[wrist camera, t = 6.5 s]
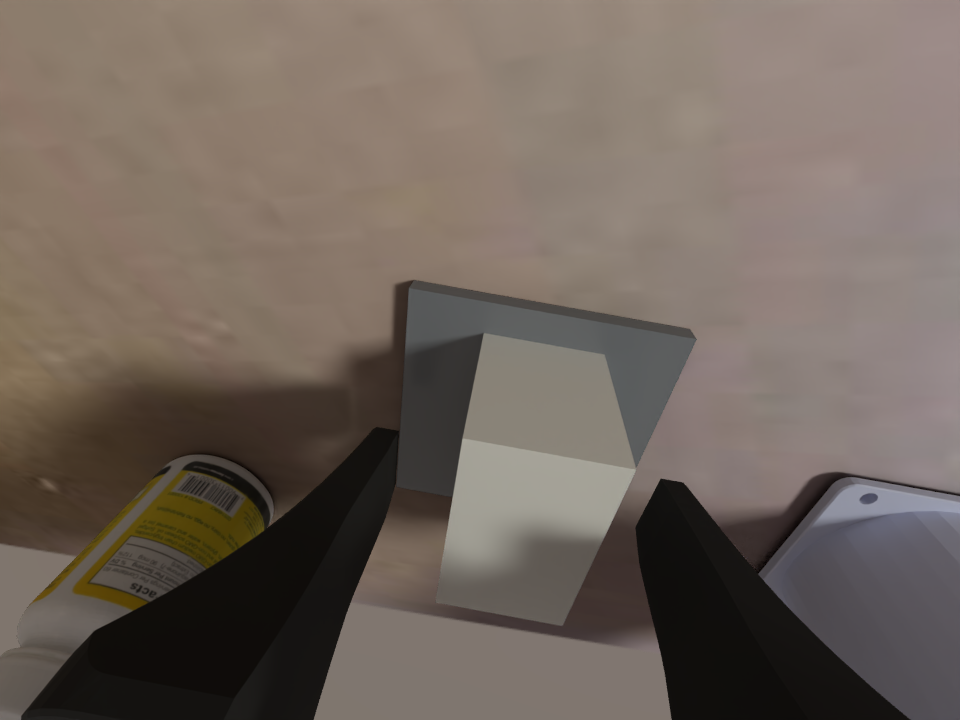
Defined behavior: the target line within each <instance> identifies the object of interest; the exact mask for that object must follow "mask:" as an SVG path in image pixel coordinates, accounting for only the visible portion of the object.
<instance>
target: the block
mask: <svg viewBox="0 0 960 720" xmlns="http://www.w3.org/2000/svg"><path fill="white" fill-rule="evenodd" d="M635 472H636V467H635V463H634V459H633V456H632V452H631V449H630V445H629V441H628V438H627V434H626V430H625V427H624V423H623V419H622V416H621V412H620V409H619V405H618V401H617V398H616V394H615V390H614V387H613V383H612V380H611V376H610V372H609V369H608V365H607V361H606V358H605V355H604V354H598V353H593V352H587V351H582V350H576V349H570V348H565V347H559V346H554V345H548V344H543V343H537V342H531V341H526V340H520V339H515V338H509V337H503V336H498V335H492V334H487V333H484V335H483V340H482V345H481V350H480V355H479V360H478V365H477V370H476V375H475V380H474V384H473V389H472V394H471V399H470V404H469V409H468V414H467V419H466V424H465V429H464V434H463V439H462V445H461V451H460V457H459V463H458V469H457V475H456V481H455V487H454V493H453V499H452V505H451V511H450V517H449V523H448V529H447V535H446V541H445V547H444V553H443V559H442V565H441V571H440V577H439V583H438V589H437V595H436V601H435V603H440V604H446V605H451V606H456V607H462V608H467V609H473V610H478V611H483V612H489V613H494V614H500V615H505V616H510V617H516V618H521V619H526V620H532V621H537V622H543V623H548V624H553V625H559V626H563V624H564V622H565V620H566V618H567V615H568V613H569V611H570V609H571V607H572V605H573V603H574V601H575V599H576V596H577V594H578V592H579V590H580V588H581V586H582V584H583V582H584V580H585V577H586V575H587V573H588V571H589V569H590V567H591V565H592V563H593V560H594V558H595V556H596V554H597V552H598V550H599V548H600V546H601V544H602V541H603V539H604V537H605V535H606V533H607V531H608V529H609V527H610V525H611V522H612V520H613V518H614V516H615V514H616V512H617V510H618V508H619V506H620V503H621V501H622V499H623V497H624V495H625V493H626V491H627V489H628V486H629V484H630V482H631V480H632V478H633V476H634V474H635Z"/></svg>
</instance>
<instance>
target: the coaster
mask: <svg viewBox="0 0 960 720" xmlns="http://www.w3.org/2000/svg"><path fill="white" fill-rule="evenodd" d="M484 333H487V334H492V335H498V336H503V337H509V338H515V339H520V340H526V341H531V342H537V343H543V344H548V345H554V346H559V347H565V348H570V349H576V350H582V351H587V352H593V353H598V354H604V355H605V358H606V361H607V365H608V369H609V372H610V376H611V380H612V383H613V387H614V390H615V394H616V398H617V401H618V405H619V409H620V412H621V416H622V419H623V423H624V427H625V430H626V434H627V438H628V441H629V445H630V449H631V452H632V456H633V459H634V463H635V467H637V465H638V463H639V461H640V459H641V457H642V454H643V452H644V450H645V448H646V446H647V444H648V442H649V439H650V437H651V435H652V433H653V431H654V429H655V427H656V425H657V422H658V420H659V418H660V416H661V414H662V412H663V410H664V408H665V405H666V403H667V401H668V399H669V397H670V395H671V393H672V391H673V388H674V386H675V384H676V382H677V380H678V378H679V376H680V374H681V371H682V369H683V367H684V365H685V363H686V361H687V359H688V357H689V354H690V352H691V350H692V348H693V346H694V344H695V342H696V340H697V339H696V338H695V336H694V335H693V333H692V332H691V330H690V329H686V328H680V327H675V326H669V325H664V324H658V323H652V322H647V321H641V320H635V319H630V318H624V317H618V316H613V315H607V314H602V313H596V312H590V311H585V310H579V309H573V308H568V307H562V306H557V305H551V304H545V303H540V302H534V301H528V300H523V299H517V298H512V297H506V296H500V295H495V294H489V293H483V292H478V291H472V290H467V289H461V288H455V287H450V286H444V285H438V284H433V283H427V282H421V281H416V280H414V281H413V282H412V284H411V286H410V287H409V295H408V311H407V327H406V342H405V358H404V374H403V390H402V405H401V421H400V437H399V452H398V468H397V484H396V487H399V488H405V489H410V490H415V491H421V492H426V493H432V494H437V495H443V496H448V497H453V493H454V487H455V481H456V475H457V469H458V463H459V457H460V451H461V445H462V439H463V434H464V429H465V424H466V419H467V414H468V409H469V404H470V399H471V394H472V389H473V384H474V380H475V375H476V370H477V365H478V360H479V355H480V350H481V345H482V340H483V335H484Z"/></svg>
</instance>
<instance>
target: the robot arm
mask: <svg viewBox="0 0 960 720" xmlns="http://www.w3.org/2000/svg"><path fill="white" fill-rule="evenodd" d="M398 437H399V431H396V430H390V429H385V428H379V427H376V428H375V429H373V430H372V431H371V432H370V433H369V435H368V436H367V437H366V438H365V439H364V440H363V441H362V443H361V444H360V445H359V446H358V447H357V448H356V449H355V450H354V451H353V452H352V453H351V454H350V455H349V456H348V457H347V459H346V460H345V461H344V462H343V463H342V464H341V465H340V466H339V467H337V468H336V469H335V470H334V471H333V472H332V473H331V474H330V475H329V476H328V477H327V478H326V479H325V480H324V481H323V482H322V483H321V484H320V485H319V486H318V487H316V488H315V489H314V490H313V491H312V492H311V493H310V494H308V495H307V496H306V497H305V498H304V499H303V500H302V501H300V502H299V503H298V504H297V505H296V506H295V507H293V508H292V509H291V510H290V511H288V512H287V513H286V514H285V515H283V516H282V517H281V518H280V519H278V520H277V521H276V522H274V523H273V524H272V525H270V526H269V527H268V528H266V529H265V530H264V531H263V532H261V533H260V534H258V535H257V536H256V537H254V538H253V539H251V540H250V541H248V542H247V543H245V544H244V545H243V546H241V547H240V548H238V549H237V550H235V551H234V552H232V553H231V554H229V555H228V556H226V557H225V558H223V559H222V560H220V561H219V562H217V563H216V564H214V565H212V566H211V567H209V568H207V569H206V570H204V571H202V572H201V573H199V574H197V575H196V576H194V577H192V578H191V579H189V580H187V581H186V582H184V583H182V584H181V585H179V586H177V587H176V588H174V589H172V590H171V591H169V592H167V593H165V594H163V595H162V596H160V597H158V598H156V599H154V600H152V601H150V602H149V603H147V604H145V605H143V606H141V607H139V608H137V609H135V610H133V611H131V612H129V613H128V614H126V615H124V616H122V617H120V618H118V619H116V620H114V621H112V622H110V623H108V624H106V625H104V626H102V627H100V628H98V629H96V630H95V631H93V633H92V634H91V635H90V636H89V637H88V638H87V639H86V640H85V641H84V642H83V643H82V644H81V645H80V646H79V647H78V648H77V649H76V650H75V652H74V653H73V654H72V655H71V656H70V657H69V658H68V659H67V661H66V662H65V663H64V664H63V665H62V667H61V668H60V669H59V670H58V671H57V673H56V674H55V675H54V676H53V678H52V679H51V680H50V681H49V682H48V684H47V685H46V686H45V687H44V689H43V690H42V691H41V692H40V693H39V695H38V696H37V697H36V698H35V700H34V701H33V702H32V703H31V704H30V706H29V707H28V708H27V709H26V711H25V712H24V713H23V714H22V715H21V720H314V716H315V712H316V709H317V706H318V703H319V699H320V696H321V693H322V689H323V686H324V683H325V680H326V676H327V673H328V670H329V667H330V663H331V660H332V657H333V654H334V651H335V648H336V644H337V641H338V638H339V635H340V631H341V629H342V625H343V622H344V619H345V616H346V613H347V611H348V608H349V605H350V603H351V600H352V597H353V595H354V592H355V590H356V588H357V585H358V583H359V580H360V578H361V576H362V573H363V571H364V568H365V566H366V564H367V561H368V559H369V556H370V554H371V552H372V549H373V547H374V545H375V542H376V540H377V537H378V535H379V532H380V530H381V528H382V525H383V523H384V520H385V518H386V514H387V511H388V508H389V504H390V501H391V498H392V494H393V491H394V487H395V484H396V469H397V453H398ZM636 537H637V547H638V555H639V563H640V568H641V573H642V577H643V581H644V586H645V590H646V594H647V598H648V603H649V607H650V611H651V615H652V619H653V623H654V627H655V631H656V635H657V640H658V644H659V648H660V652H661V656H662V661H663V666H664V671H665V677H666V683H667V691H668V698H669V704H670V711H671V718H672V720H960V496H956V495H950V494H944V493H939V492H933V491H928V490H922V489H917V488H911V487H906V486H900V485H895V484H889V483H883V482H878V481H872V480H867V479H861V478H856V477H846V478H842V479H840V480H837V481H836V482H835V483H833V484H832V485H831V487H830V488H829V489H828V490H827V491H826V493H825V494H824V495H823V496H822V498H821V499H820V500H819V501H818V502H817V504H816V505H815V506H814V507H813V508H812V510H811V511H810V512H809V513H808V514H807V516H806V517H805V518H804V519H803V520H802V522H801V523H800V524H799V525H798V527H797V528H796V529H795V530H794V531H793V533H792V534H791V535H790V536H789V537H788V539H787V540H786V541H785V542H784V543H783V545H782V546H781V547H780V548H779V549H778V551H777V552H776V553H775V554H774V555H773V557H772V558H771V559H770V560H769V562H768V563H767V564H766V565H765V566H764V568H763V569H762V570H761V571H760V572H759V574H757V572H756V571H755V570H754V569H753V568H752V567H751V565H750V564H749V563H748V562H747V561H746V560H745V558H744V557H743V556H742V555H741V554H740V552H739V551H738V550H737V549H736V548H735V546H734V545H733V544H732V543H731V541H730V540H729V539H728V538H727V537H726V535H725V534H724V533H723V532H722V530H721V529H720V528H719V527H718V525H717V524H716V523H715V522H714V520H713V519H712V518H711V516H710V515H709V514H708V513H707V511H706V510H705V509H704V508H703V506H702V505H701V504H700V503H699V501H698V500H697V499H696V498H695V496H694V495H693V494H692V493H691V491H690V490H689V489H688V488H687V486H686V485H685V484H684V483H682V482H677V481H671V480H666V479H660V481H659V483H658V485H657V487H656V489H655V491H654V493H653V495H652V497H651V499H650V500H649V502H648V504H647V506H646V508H645V510H644V512H643V514H642V516H641V518H640V520H639V522H638V523H637V525H636Z"/></svg>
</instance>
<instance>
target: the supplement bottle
mask: <svg viewBox="0 0 960 720" xmlns="http://www.w3.org/2000/svg"><path fill="white" fill-rule="evenodd" d="M273 512H274V505H273V501H272V498H271V496H270V494H269V492H268V491H267V489H266V488H265V487H264V485H263V484H262V483H261V482H260V481H259V480H258V479H257V478H256V477H255V476H254V475H253V474H252V473H250V472H249V471H248V470H246V469H245V468H243V467H241V466H239V465H238V464H236V463H234V462H231V461H229V460H226V459H223V458H220V457H216V456H211V455H188V456H183V457H180V458H177V459H175V460H173V461H171V462H170V463H168V464H167V465H166V466H164V467H163V468H162V469H161V470H160V471H159V472H158V473H157V474H156V475H155V476H154V477H153V479H152V480H151V481H150V482H149V483H148V484H147V485H146V486H145V487H144V488H143V489H142V490H141V491H140V492H139V493H138V494H137V495H136V496H135V497H134V498H133V499H132V500H131V501H130V503H129V504H128V505H127V506H126V507H125V508H124V509H123V510H122V511H121V512H120V513H119V514H118V515H117V516H116V517H115V518H114V519H113V520H112V521H111V522H110V523H109V524H108V525H107V526H106V527H105V528H104V529H103V530H102V531H101V532H100V533H99V534H98V535H97V537H96V538H95V539H94V540H93V541H92V542H91V543H90V544H89V545H88V546H87V547H86V548H85V549H84V550H83V551H82V552H81V553H80V554H79V555H78V556H77V557H76V558H75V559H74V560H73V561H72V562H71V563H70V564H69V565H68V566H67V567H66V568H65V569H64V570H63V571H62V572H61V574H59V575H58V577H56V578H55V580H54V581H53V582H52V583H51V584H50V585H49V586H48V587H47V588H46V589H45V590H44V591H43V592H42V593H41V594H40V595H39V596H37V598H36V599H35V600H34V601H33V602H32V603H31V604H30V605H29V606H28V607H27V609H26V611H25V612H24V614H23V615H22V617H21V619H20V621H19V624H18V628H17V638H18V642H19V644H20V646H21V647H20V648H14V649H11V650H8V651H6V652H5V653H3V654H2V655H1V656H0V720H21V715H22V714H23V713H24V712H25V711H26V709H27V708H28V707H29V706H30V704H31V703H32V702H33V701H34V700H35V698H36V697H37V696H38V695H39V693H40V692H41V691H42V690H43V689H44V687H45V686H46V685H47V684H48V682H49V681H50V680H51V679H52V678H53V676H54V675H55V674H56V673H57V671H58V670H59V669H60V668H61V667H62V665H63V664H64V663H65V662H66V661H67V659H68V658H69V657H70V656H71V655H72V654H73V653H74V652H75V650H76V649H77V648H78V647H79V646H80V645H81V644H82V643H83V642H84V641H85V640H86V639H87V638H88V637H89V636H90V635H91V634H92V633H93V631H95V630H96V629H98V628H100V627H102V626H104V625H106V624H108V623H110V622H112V621H114V620H116V619H118V618H120V617H122V616H124V615H126V614H128V613H129V612H131V611H133V610H135V609H137V608H139V607H141V606H143V605H145V604H147V603H149V602H150V601H152V600H154V599H156V598H158V597H160V596H162V595H163V594H165V593H167V592H169V591H171V590H172V589H174V588H176V587H177V586H179V585H181V584H182V583H184V582H186V581H187V580H189V579H191V578H192V577H194V576H196V575H197V574H199V573H201V572H202V571H204V570H206V569H207V568H209V567H211V566H212V565H214V564H216V563H217V562H219V561H220V560H222V559H223V558H225V557H226V556H228V555H229V554H231V553H232V552H234V551H235V550H237V549H238V548H240V547H241V546H243V545H244V544H245V543H247V542H248V541H250V540H251V539H253V538H254V537H256V536H257V535H258V534H260V533H261V532H263V531H264V530H265V529H266V528H267V527H268V525H269V524H270V522H271V520H272V517H273Z"/></svg>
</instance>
